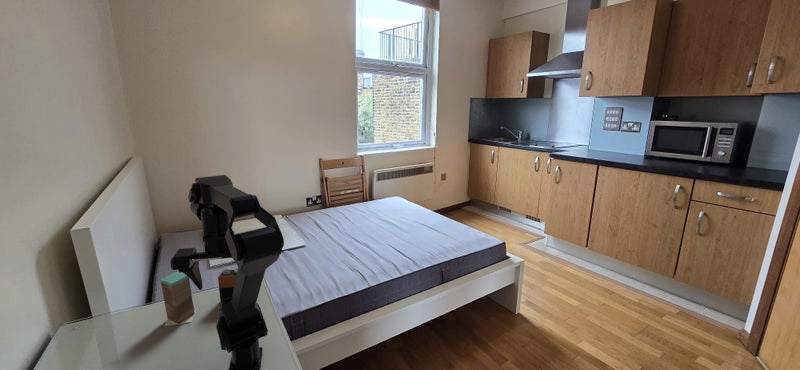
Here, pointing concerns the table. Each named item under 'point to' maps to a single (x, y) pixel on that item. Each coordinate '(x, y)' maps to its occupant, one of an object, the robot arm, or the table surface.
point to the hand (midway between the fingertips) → (222, 286)
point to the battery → (227, 283)
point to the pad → (181, 322)
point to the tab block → (177, 297)
